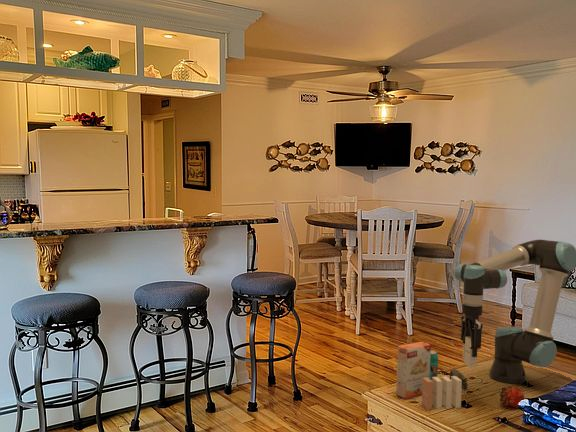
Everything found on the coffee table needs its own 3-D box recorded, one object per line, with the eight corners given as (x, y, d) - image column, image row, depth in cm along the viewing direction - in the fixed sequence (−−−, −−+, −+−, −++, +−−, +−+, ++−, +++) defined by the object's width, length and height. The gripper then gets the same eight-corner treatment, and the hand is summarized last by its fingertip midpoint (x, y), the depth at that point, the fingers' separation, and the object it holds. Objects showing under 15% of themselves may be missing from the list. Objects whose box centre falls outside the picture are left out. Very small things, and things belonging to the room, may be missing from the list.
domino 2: (436, 403, 218) (436, 376, 217) (441, 408, 213) (442, 381, 212) (431, 404, 218) (432, 376, 217) (436, 409, 213) (437, 381, 212)
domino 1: (426, 404, 217) (427, 377, 217) (431, 409, 212) (432, 381, 212) (421, 404, 217) (422, 377, 216) (426, 409, 212) (427, 381, 211)
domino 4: (455, 402, 219) (455, 375, 218) (460, 407, 214) (461, 380, 213) (450, 403, 219) (451, 376, 218) (456, 408, 214) (456, 380, 213)
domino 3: (445, 403, 219) (446, 376, 218) (451, 408, 214) (452, 380, 213) (440, 403, 218) (441, 376, 218) (446, 408, 213) (447, 381, 213)
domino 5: (468, 363, 221) (470, 336, 220) (474, 367, 216) (476, 339, 215) (464, 363, 221) (465, 336, 220) (469, 367, 216) (471, 339, 215)
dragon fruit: (498, 411, 215) (519, 411, 220) (514, 405, 208) (535, 404, 214) (490, 390, 219) (512, 389, 224) (506, 383, 213) (527, 383, 218)
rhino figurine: (462, 392, 231) (463, 378, 230) (447, 380, 244) (447, 367, 244) (471, 391, 232) (472, 377, 231) (455, 379, 245) (456, 366, 245)
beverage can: (429, 389, 233) (430, 354, 232) (420, 384, 238) (421, 350, 237) (440, 387, 236) (441, 352, 235) (430, 382, 241) (431, 349, 240)
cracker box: (406, 400, 221) (407, 349, 220) (395, 395, 226) (396, 345, 225) (430, 393, 229) (431, 344, 227) (419, 388, 234) (420, 340, 232)
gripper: (453, 299, 225) (450, 355, 227) (474, 309, 208) (471, 369, 209) (470, 299, 226) (468, 355, 228) (492, 309, 209) (489, 369, 210)
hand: (469, 362), depth 218 cm, fingers closed on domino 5, 5 cm apart
